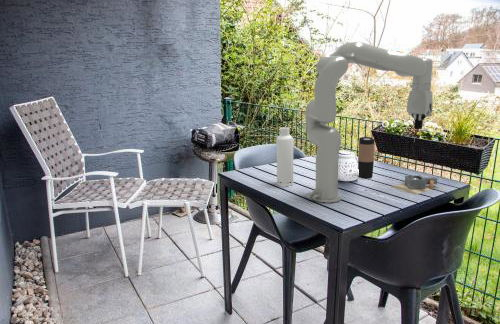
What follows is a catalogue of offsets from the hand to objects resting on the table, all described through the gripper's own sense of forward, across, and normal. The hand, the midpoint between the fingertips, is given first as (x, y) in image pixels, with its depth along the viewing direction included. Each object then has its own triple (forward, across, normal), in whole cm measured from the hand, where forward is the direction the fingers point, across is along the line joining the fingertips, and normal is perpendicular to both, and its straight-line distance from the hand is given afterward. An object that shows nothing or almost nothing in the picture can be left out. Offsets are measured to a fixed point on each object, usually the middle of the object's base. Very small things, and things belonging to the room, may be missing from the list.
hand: (418, 128), depth 174 cm
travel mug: (+27, -24, -6) cm, 37 cm away
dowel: (+26, +9, 0) cm, 27 cm away
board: (+27, +4, -6) cm, 28 cm away
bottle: (+27, -39, -46) cm, 66 cm away
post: (+26, +3, -4) cm, 26 cm away
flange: (+26, +5, -2) cm, 26 cm away
